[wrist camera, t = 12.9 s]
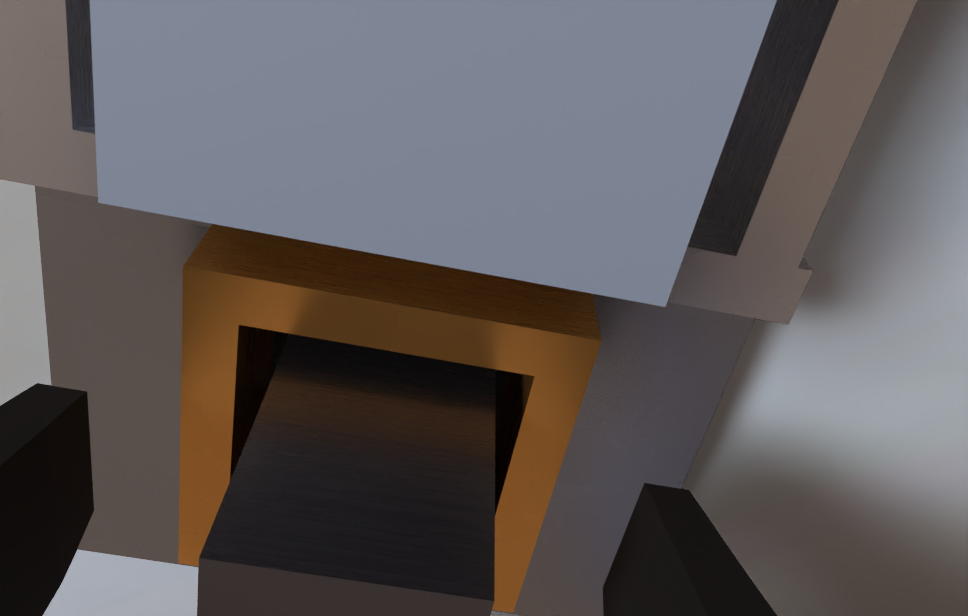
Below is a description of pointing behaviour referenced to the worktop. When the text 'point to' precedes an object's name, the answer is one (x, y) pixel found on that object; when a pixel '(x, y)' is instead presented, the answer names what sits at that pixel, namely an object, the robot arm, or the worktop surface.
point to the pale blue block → (431, 126)
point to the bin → (423, 310)
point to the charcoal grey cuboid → (359, 491)
